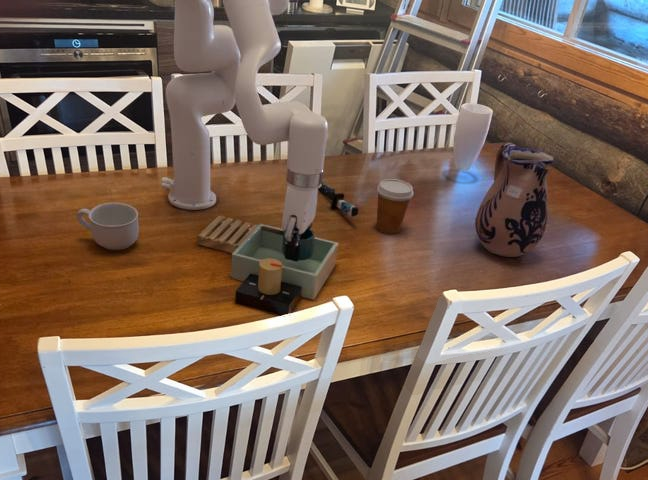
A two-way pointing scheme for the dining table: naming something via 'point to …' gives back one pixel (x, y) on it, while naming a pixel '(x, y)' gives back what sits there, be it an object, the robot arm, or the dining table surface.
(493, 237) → the ceramic pitcher
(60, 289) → the dining table surface
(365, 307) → the dining table surface
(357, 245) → the dining table surface
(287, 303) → the black dial base
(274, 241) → the pale green open box
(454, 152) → the white vase
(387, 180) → the disposable coffee cup
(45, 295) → the dining table surface
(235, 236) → the rack
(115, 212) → the teacup
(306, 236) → the pan
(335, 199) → the knife
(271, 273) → the tap knob
